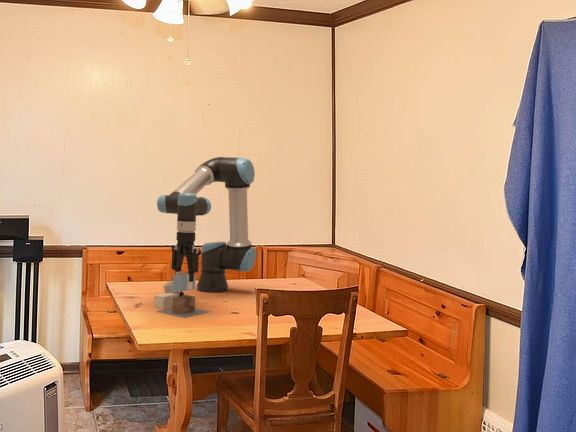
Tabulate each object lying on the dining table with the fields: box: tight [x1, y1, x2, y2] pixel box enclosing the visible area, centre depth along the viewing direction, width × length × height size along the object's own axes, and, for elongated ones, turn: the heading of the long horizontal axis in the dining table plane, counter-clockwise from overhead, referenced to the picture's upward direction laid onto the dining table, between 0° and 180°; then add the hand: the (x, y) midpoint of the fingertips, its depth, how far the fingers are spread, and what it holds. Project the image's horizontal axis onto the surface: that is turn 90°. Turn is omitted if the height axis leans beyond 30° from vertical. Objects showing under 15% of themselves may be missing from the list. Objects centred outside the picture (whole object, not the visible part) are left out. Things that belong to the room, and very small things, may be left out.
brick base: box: [171, 294, 196, 314], centre depth 283 cm, size 8×5×6 cm, turn 145°
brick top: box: [172, 272, 197, 292], centre depth 282 cm, size 8×5×6 cm, turn 146°
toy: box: [163, 280, 185, 297], centre depth 304 cm, size 6×12×15 cm
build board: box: [154, 307, 212, 319], centre depth 283 cm, size 16×16×1 cm
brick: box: [154, 292, 177, 310], centre depth 291 cm, size 8×5×6 cm, turn 146°
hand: (184, 288), depth 282 cm, fingers closed on brick top, 5 cm apart
